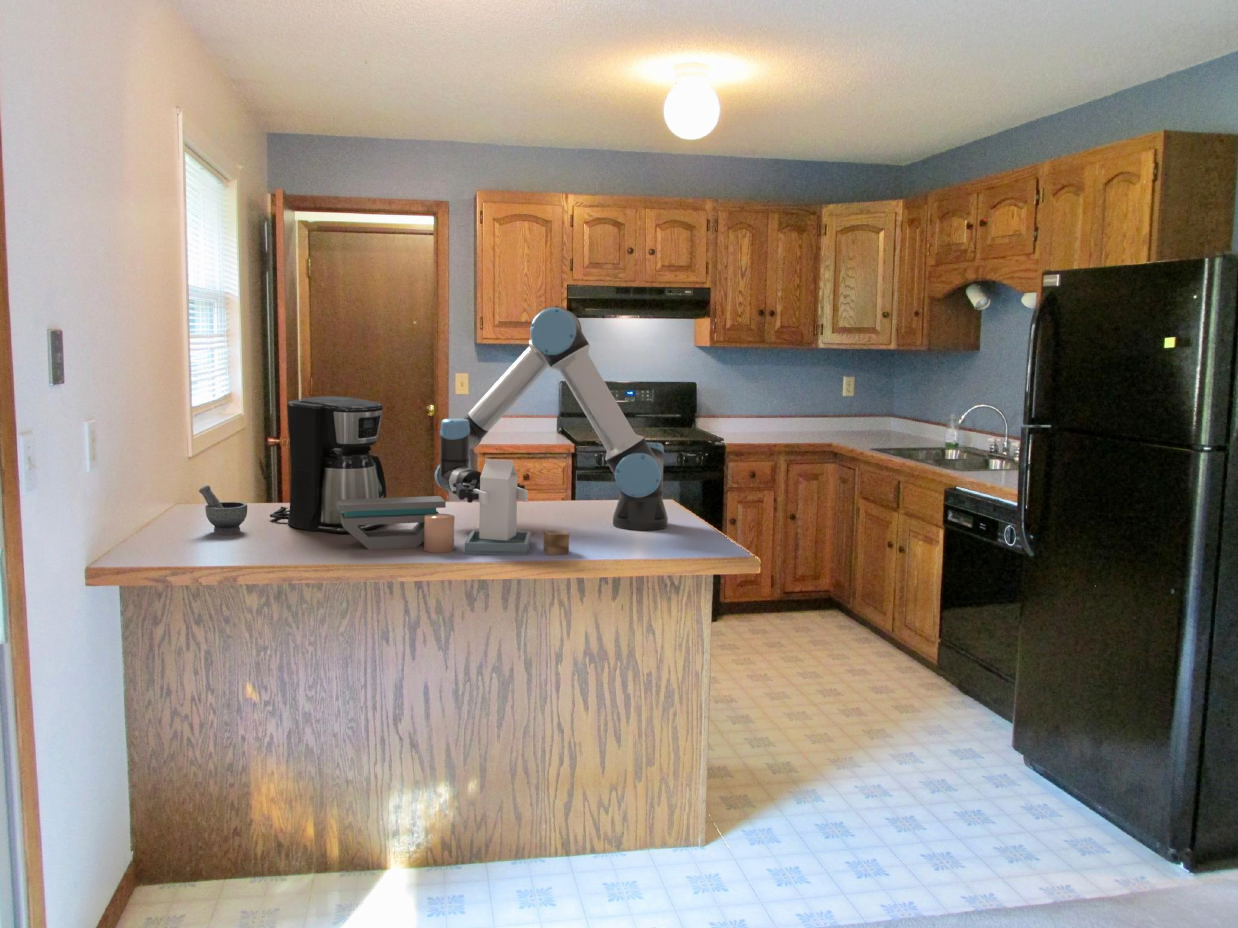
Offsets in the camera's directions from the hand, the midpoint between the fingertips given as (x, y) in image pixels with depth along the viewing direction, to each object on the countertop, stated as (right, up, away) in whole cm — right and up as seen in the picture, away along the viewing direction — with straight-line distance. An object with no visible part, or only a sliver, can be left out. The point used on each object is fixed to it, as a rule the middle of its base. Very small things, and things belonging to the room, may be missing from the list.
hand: (506, 497), depth 234 cm
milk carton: (-3, -10, +5) cm, 12 cm away
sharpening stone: (-29, -12, +6) cm, 32 cm away
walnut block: (+12, -13, +2) cm, 18 cm away
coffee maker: (-49, -8, +31) cm, 59 cm away
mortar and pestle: (-73, -9, +15) cm, 75 cm away
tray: (-2, -12, +5) cm, 14 cm away
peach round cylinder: (-16, -12, +2) cm, 21 cm away
